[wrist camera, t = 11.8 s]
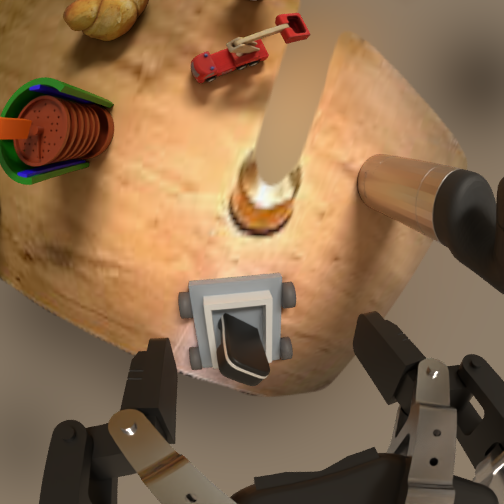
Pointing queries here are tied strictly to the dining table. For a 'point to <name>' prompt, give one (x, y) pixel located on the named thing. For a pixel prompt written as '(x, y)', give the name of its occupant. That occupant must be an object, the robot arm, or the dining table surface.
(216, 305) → the chassis
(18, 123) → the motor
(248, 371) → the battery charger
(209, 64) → the toy fire truck
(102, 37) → the bread roll
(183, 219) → the dining table surface
